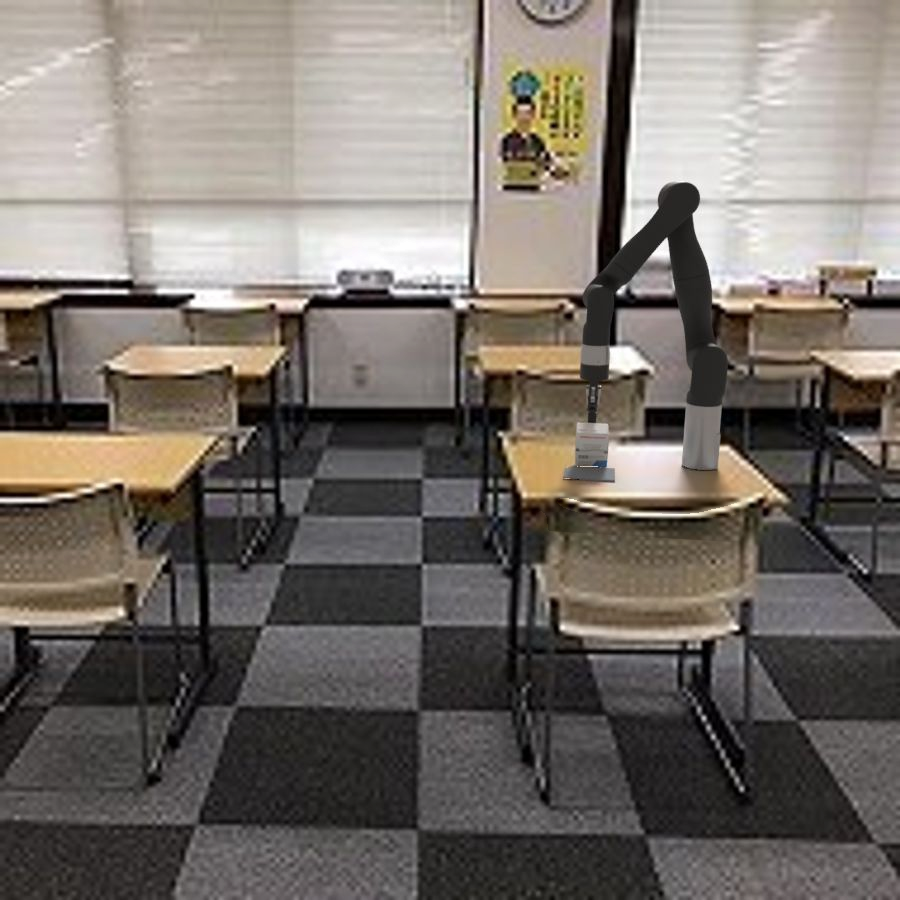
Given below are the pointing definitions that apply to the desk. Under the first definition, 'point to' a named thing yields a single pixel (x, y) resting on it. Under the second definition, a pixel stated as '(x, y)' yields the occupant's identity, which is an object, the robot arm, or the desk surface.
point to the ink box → (591, 444)
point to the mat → (590, 473)
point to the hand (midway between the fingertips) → (591, 426)
